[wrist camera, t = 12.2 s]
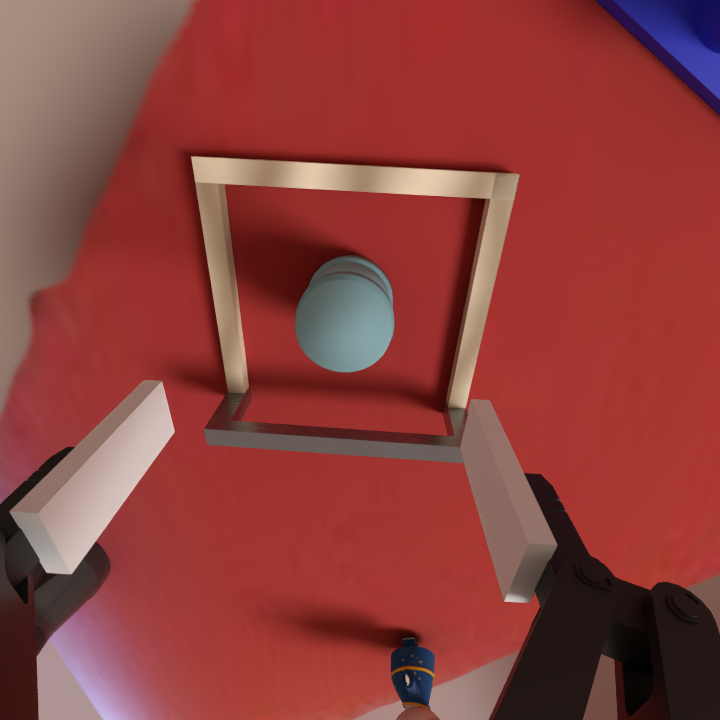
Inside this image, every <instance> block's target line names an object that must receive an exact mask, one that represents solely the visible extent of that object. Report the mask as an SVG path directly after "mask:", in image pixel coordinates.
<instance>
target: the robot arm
mask: <svg viewBox="0 0 720 720" xmlns="http://www.w3.org/2000/svg"><path fill="white" fill-rule="evenodd" d="M174 432H175V431H174V427H173V423H172V419H171V415H170V411H169V407H168V403H167V399H166V395H165V391H164V387H163V383H162V381H152V380H144V381H143V382H142V383H141V384H140V385H138V386H137V387H136V388H135V389H134V390H133V391H132V392H131V393H130V394H129V395H128V396H127V397H126V398H125V399H124V400H123V401H122V402H121V403H120V404H119V405H118V406H117V407H116V408H115V409H114V410H113V411H112V412H111V413H110V414H109V415H108V416H107V417H106V418H105V419H104V420H103V421H102V422H101V423H100V424H99V425H98V426H96V427H95V428H94V429H93V430H92V431H91V432H90V433H89V434H88V435H87V436H86V437H85V438H84V439H83V440H82V441H81V442H80V443H79V444H78V445H77V446H76V447H67V448H65V449H63V450H62V451H60V452H58V453H57V454H55V455H53V456H52V457H50V458H49V459H48V460H47V461H46V462H45V463H44V464H43V465H42V466H41V467H40V468H39V469H38V471H35V472H34V473H33V474H32V475H31V476H30V477H29V478H28V480H27V481H25V482H23V483H22V484H21V485H20V486H19V487H18V488H17V489H16V490H15V491H14V492H13V493H12V494H11V495H10V496H8V497H7V498H6V499H5V500H4V501H3V502H2V503H1V504H0V720H39V719H38V689H37V661H36V657H37V655H38V654H39V652H40V651H41V649H42V648H43V647H44V645H45V644H46V642H47V641H48V639H49V638H50V637H51V635H52V634H53V633H54V632H55V631H56V630H58V629H59V628H60V627H61V626H62V625H63V624H64V623H65V622H66V621H67V620H68V619H69V618H70V617H71V616H72V615H73V614H74V613H75V612H76V611H77V610H78V609H79V608H80V607H81V606H82V605H83V604H84V603H85V602H86V601H87V600H89V599H90V598H92V597H93V596H94V595H95V594H96V593H97V592H98V590H99V589H100V587H101V586H102V584H103V583H104V581H105V580H106V578H107V576H108V575H109V573H110V563H109V560H108V558H107V556H106V554H105V553H104V551H103V550H102V549H101V548H100V547H99V546H98V545H97V544H96V543H95V541H96V540H97V539H98V537H99V536H100V534H101V533H102V532H103V530H104V529H105V528H106V526H107V525H108V523H109V522H110V521H111V519H112V518H113V516H114V515H115V514H116V512H117V511H118V510H119V508H120V507H121V505H122V504H123V503H124V501H125V500H126V498H127V497H128V496H129V494H130V493H131V492H132V490H133V489H134V487H135V486H136V485H137V483H138V482H139V480H140V479H141V478H142V476H143V475H144V474H145V472H146V471H147V469H148V468H149V467H150V465H151V464H152V462H153V461H154V460H155V458H156V457H157V456H158V454H159V453H160V451H161V450H162V449H163V447H164V446H165V444H166V443H167V442H168V440H169V439H170V438H171V436H172V435H173V433H174ZM460 451H461V455H462V458H463V461H464V465H465V468H466V472H467V475H468V479H469V482H470V486H471V489H472V492H473V496H474V499H475V503H476V506H477V510H478V513H479V517H480V520H481V523H482V527H483V530H484V534H485V537H486V541H487V544H488V548H489V551H490V554H491V558H492V561H493V565H494V568H495V572H496V575H497V579H498V582H499V585H500V589H501V592H502V596H503V599H504V601H506V602H522V603H530V601H531V599H532V597H533V595H534V593H536V596H537V598H538V601H539V604H540V608H539V610H538V612H537V614H536V616H535V618H534V620H533V622H532V624H531V625H532V626H531V628H530V630H529V632H528V634H527V637H526V639H525V641H524V643H523V645H522V648H521V650H520V652H519V654H518V657H517V659H516V661H515V663H514V666H513V668H512V670H511V672H510V674H509V676H508V679H507V681H506V683H505V685H504V687H503V690H502V692H501V694H500V696H499V699H498V701H497V703H496V705H495V707H494V710H493V712H492V714H491V716H490V718H489V720H583V717H584V713H585V709H586V706H587V702H588V699H589V695H590V691H591V688H592V685H593V681H594V677H595V674H596V670H597V667H598V663H599V660H600V656H601V654H603V655H605V656H608V657H610V658H613V659H614V661H615V679H616V696H617V712H618V713H617V714H618V720H720V634H719V631H718V627H717V624H716V621H715V619H714V617H713V615H712V613H711V611H710V610H709V609H708V608H707V607H706V605H704V603H703V602H702V601H701V600H700V599H698V598H697V597H696V596H695V595H694V594H692V593H691V592H690V591H688V590H686V589H684V588H682V587H681V586H679V585H676V584H672V583H669V582H661V583H657V584H656V585H655V586H654V587H653V588H652V589H651V590H648V589H646V588H643V587H640V586H637V585H634V584H631V583H629V582H626V581H623V580H621V579H618V578H616V577H614V575H613V574H612V573H611V571H610V570H609V569H608V568H607V567H606V566H605V565H604V564H603V563H601V562H600V561H599V560H597V559H596V558H594V557H591V556H590V554H589V553H588V551H587V549H586V547H585V546H584V544H583V542H582V540H581V538H580V536H579V534H578V533H577V531H576V529H575V527H574V525H573V523H572V521H571V520H570V518H569V516H568V514H567V513H566V512H565V508H564V507H563V505H562V503H561V502H560V501H559V497H558V495H557V493H556V492H555V490H554V488H553V486H552V485H551V484H550V483H549V482H548V481H547V480H546V479H545V478H544V477H543V476H542V475H541V474H528V473H523V470H522V468H521V466H520V464H519V462H518V460H517V458H516V456H515V453H514V451H513V449H512V447H511V445H510V443H509V441H508V438H507V436H506V434H505V432H504V430H503V428H502V426H501V424H500V421H499V419H498V417H497V415H496V413H495V411H494V409H493V406H492V404H491V402H490V400H476V399H471V403H470V407H469V412H468V416H467V420H466V424H465V429H464V433H463V437H462V442H461V446H460Z"/></svg>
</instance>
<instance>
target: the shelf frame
mask: <svg viewBox="0 0 720 720" xmlns="http://www.w3.org/2000/svg"><path fill="white" fill-rule="evenodd" d="M191 158H192V165H193V171H194V177H195V184H196V190H197V197H198V203H199V209H200V216H201V222H202V229H203V235H204V241H205V248H206V254H207V261H208V267H209V273H210V280H211V286H212V292H213V299H214V305H215V312H216V318H217V324H218V331H219V337H220V344H221V350H222V356H223V363H224V369H225V376H226V382H227V388H228V392H231V393H245V392H246V391H247V389H248V387H249V382H248V373H247V365H246V357H245V349H244V340H243V332H242V324H241V316H240V307H239V299H238V291H237V283H236V274H235V266H234V258H233V250H232V241H231V233H230V225H229V217H228V208H227V200H226V192H225V184H236V185H253V186H271V187H289V188H307V189H325V190H342V191H360V192H378V193H396V194H414V195H432V196H449V197H467V198H485V199H486V200H485V205H484V210H483V215H482V220H481V225H480V230H479V235H478V240H477V245H476V250H475V255H474V260H473V266H472V271H471V276H470V281H469V286H468V291H467V296H466V301H465V306H464V311H463V316H462V321H461V326H460V331H459V336H458V341H457V347H456V352H455V357H454V362H453V367H452V372H451V377H450V382H449V387H448V392H447V397H446V401H447V405H448V407H449V408H463V409H465V408H466V403H467V399H468V395H469V390H470V386H471V382H472V377H473V373H474V369H475V365H476V360H477V356H478V352H479V347H480V343H481V339H482V334H483V330H484V326H485V322H486V317H487V313H488V309H489V304H490V300H491V296H492V291H493V287H494V283H495V279H496V274H497V270H498V266H499V261H500V257H501V253H502V248H503V244H504V240H505V235H506V231H507V227H508V223H509V218H510V214H511V210H512V205H513V201H514V197H515V192H516V188H517V184H518V180H519V175H520V174H514V173H497V172H479V171H461V170H442V169H424V168H406V167H387V166H369V165H351V164H332V163H314V162H296V161H277V160H259V159H241V158H222V157H204V156H191Z"/></svg>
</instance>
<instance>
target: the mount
mask: <svg viewBox="0 0 720 720" xmlns="http://www.w3.org/2000/svg"><path fill="white" fill-rule="evenodd" d="M596 1H597V2H598V3H599V4H600V5H601V6H602V7H603V8H604V9H605V10H606V11H607V12H609V13H610V14H611V15H612V16H613V17H614V18H615V19H616V20H617V21H618V22H619V23H621V24H622V25H623V26H624V27H625V28H626V29H627V30H628V31H629V32H630V33H631V34H632V35H634V36H635V37H636V38H637V39H638V40H639V41H640V42H641V43H642V44H643V45H644V46H645V47H647V48H648V49H649V50H650V51H651V52H652V53H653V54H654V55H655V56H656V57H657V58H659V59H660V60H661V61H662V62H663V63H664V64H665V65H666V66H667V67H668V68H669V69H670V70H672V71H673V72H674V73H675V74H676V75H677V76H678V77H679V78H680V79H681V80H682V81H683V82H685V83H686V84H687V85H688V86H689V87H690V88H691V89H692V90H693V91H694V92H695V93H697V94H698V95H699V96H700V97H701V98H702V99H703V100H704V101H705V102H706V103H707V104H708V105H710V106H711V107H712V108H713V109H714V110H715V111H716V112H717V113H718V114H719V115H720V0H596Z"/></svg>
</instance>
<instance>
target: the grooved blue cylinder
mask: <svg viewBox="0 0 720 720" xmlns="http://www.w3.org/2000/svg"><path fill="white" fill-rule="evenodd" d="M392 306H393V296H392V289H391V285H390V282H389V280H388V278H387V276H386V275H385V273H384V272H383V271H382V270H381V269H380V268H379V267H378V266H377V265H376V264H375V263H374V262H372V261H371V260H369V259H367V258H364V257H361V256H357V255H344V256H339V257H336V258H333V259H331V260H329V261H327V262H326V263H324V264H323V265H322V266H321V267H320V268H319V269H318V270H317V271H316V273H315V274H314V276H313V278H312V279H311V281H310V283H309V286H308V288H307V289H306V291H305V292H304V294H303V296H302V298H301V299H300V301H299V304H298V306H297V309H296V315H295V331H296V336H297V340H298V342H299V345H300V346H301V348H302V350H303V351H304V353H305V354H306V355H307V356H308V357H309V358H310V359H311V360H312V361H314V362H315V363H316V364H318V365H320V366H322V367H324V368H326V369H329V370H332V371H336V372H355V371H359V370H362V369H365V368H367V367H369V366H371V365H372V364H374V363H375V362H376V361H378V360H379V359H380V358H381V357H382V355H383V354H384V353H385V351H386V350H387V347H388V345H389V343H390V341H391V338H392V335H393V331H394V313H393V307H392Z"/></svg>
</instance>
